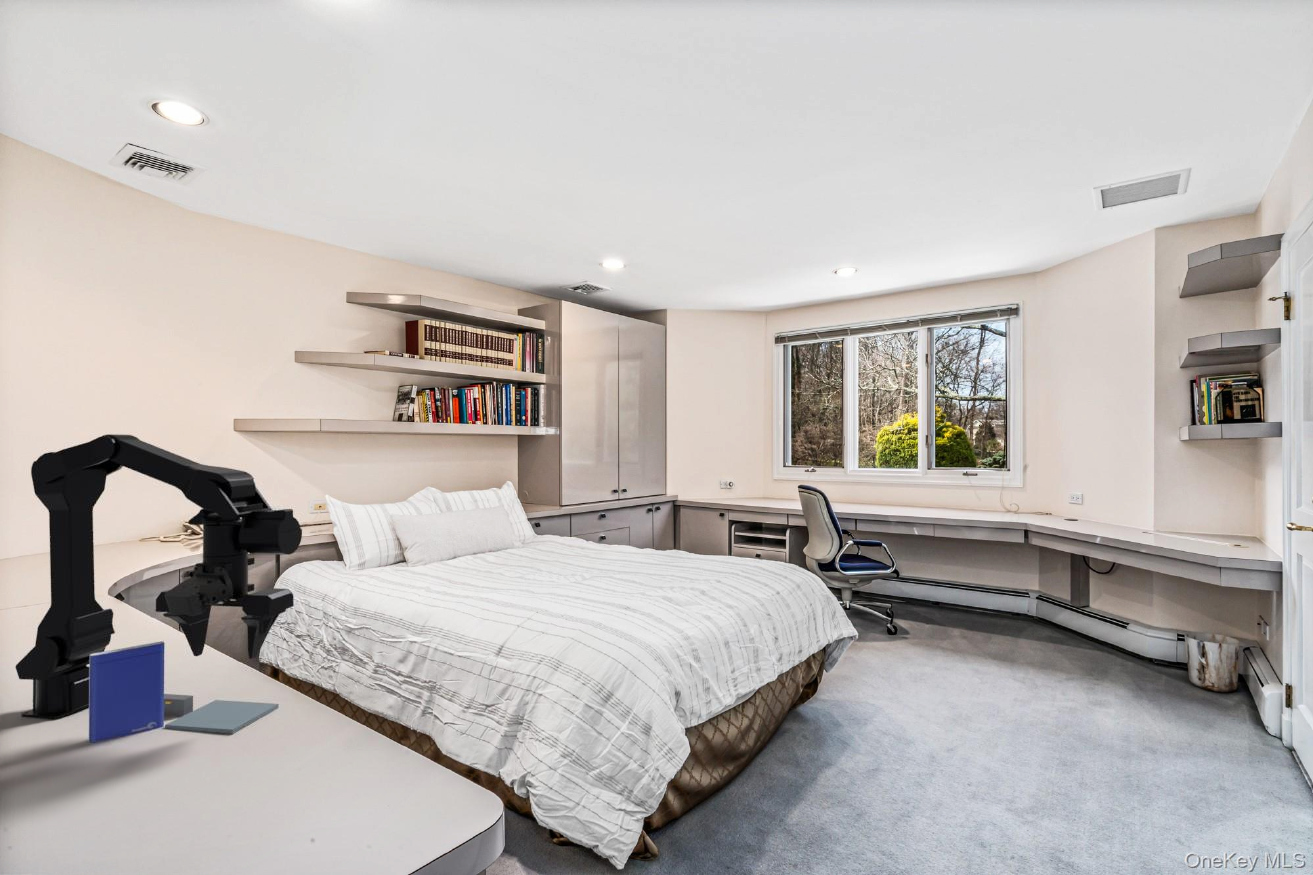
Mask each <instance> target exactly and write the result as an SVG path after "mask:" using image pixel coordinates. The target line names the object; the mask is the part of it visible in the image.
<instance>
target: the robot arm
mask: <svg viewBox="0 0 1313 875" xmlns="http://www.w3.org/2000/svg"><path fill="white" fill-rule="evenodd" d="M30 467H31V468H30V475H31V476H30V477H31V480H32V486H33V491H34V494H35V496H36V498H38V499H39V501H40V502H41V503H42V504H43V505H44V507H45V508H46V510H47V511H48V517H49V519H48V520H49V521H48V523H49V524H48V526H49V566H50V567H49V568H50V569H49V570H50V573H49V574H50V606H49V608H48V610H47V612H46V613H45V615H44V616H43V618H42V619H41V621H40V623H39V624H38V626H37V631H36V637H35V638H36V639H35V645H34V646H33V647H32V649H31V650H29V651H28V653H26V654H25V655H24V657H23V658H22V659H21V660H20V661H18V663H17V664H16V665H15V670H16V673H17V676H18V679H19V680H27V681H28V680H30V681H32V708H31V709H29V710H26V711H24V712H21V716H20V717H21V718H32V719H33V718H34V719H45V720H46V719H48V720H49V719H50V720H58V719H62V718H63V717H66V716H68V715H71V714H74V713H77V712H79V711H82V710H84V709H86V708H89V666H88V665H89V663H90V654H94V653H99V652H105V651H106V647H107V646H109V645H110V643H111V639H112V635H114V634H115V633H116V632H115V631H116V630H115V629H114V624H113V619H114V611H113V609H112V608H105V609H104V608H103V606H102V605H100V603H98V601H97V600H96V594H95V588H96V586H95V554H94V552H95V548H94V547H95V546H94V507H95V505H96V504H97V502H98V501H99V499H100V497H101V496H102V495H103V493H104V491H105V489H106V481H107V477H108V476H110V475H112V474H114V473H115V472H118V471H119V470H122V468H123V467H124V468H127V469H129V470H131V471H132V470H133V471H134V472H137V473H140V474H142V475H144V476H148V477H149V478H152V479H155V480H157V481H159V482H162V483H164V484H167V485H169V486H173V487H174V488H176V489H178V490H179V491H181V492H182V494H183V495H184V497H185V498H186V500H189V501H190V502H192V503H193V504H195V505H196V506H198V507H199V508H200V509H199V512H198V513H197V514H196V515H194V516H192V517H191V518H190V519H189V520H188V521H187V523H188V525H190V526H202V562H197V563H195V566H194V567H193V576H191V577H190V578H187V579H184V580H183V581H182V582H180V583H179V584H177V585H176V586H174V587H172V588H171V589H168V590H165V591H161V592H160V593H159V594H158V595H157V597H156V598H155V613H156V612H157V613H162V615H163V617H165V618H169V619H171V620H172V621H174V622H176V623H177V624H178V625H179V626H180V629H181V630H182V632H183V633H184V636H185V639H186V640H187V643H188V646H189V648H190V649H191V653H192V654H193V656H194V657H198V656H201V655H202V654H203V653H204V648H205V644H206V638H207V633H208V627H209V621H210V617H211V616H210V615H211V608H212V607H234V608H236V607H237V608H238V607H239V608H242V609H241V610H242V611H243V612H244V614H245V615H244V616H242V617H240V618H241V620H242V621H243V623H244V624H245V625H246V626H247V653H248V654H247V655H248V659H249V660H254V659H256V658H257V657H258V654H259V653H260V650H261V648H262V647H263V645H264V643H265V640H266V639H267V636H268V635H269V633H270V630H271V628H272V627H273V625H274V624H275V622H276V621H277V619H278V618H279V616H280V615H281V614H283V613H285V612H286V611H287V609H289V608H292V607H294V593H293V592H292V590H291V589H289V588H279V587H278V588H272V587H271V588H270V587H268V588H265V589H262V590H259V591H255V583H249V566H253V565H255V557H250V556H249V554H250V555H283V556H284V555H289V556H290V555H291V554H294V553H295V552H296V551H297V550H298V548H299V546H300V545H301V541H302V538H303V528H301V525H300V522H299V521H298V519H297V518H295V516H294V510H293V508H284V509H275V510H274V509H272V506H270V504H269V503H268V501H267V500H266V499H265V497H264V496H263V495H262V493H261V492H260V491H259V489H258V487H256V482H255V481H254V479H255V478H254V477H253V475H252V474H251V473H249V472H247V471H245V470H240V469H236V468H229V467H223V466H215V465H214V466H213V465H208V464H202V463H199V462H197V461H193V460H191V459H189V458H186V457H184V456H181V455H179V454H177V453H174V452H171V451H168V450H167V449H163V448H161V447H158V446H156V445H153V444H151V443H148V442H145V441H143V440H140V438H138V437H137V436H135V435H131V434H113V433H112V434H108V433H107V434H103V435H102V436H98V437H97V438H95V439H92V440H90V441H87V442H84V443H81V444H77V445H74V446H71V447H67V448H63V449H61V450H58V451H50V452H45V453H43V454H42V455H40V456H39V457H38V458H37V459H36V460H34V461H33V462H32V465H31V466H30ZM254 591H255V592H254ZM250 592H251V593H250Z"/></svg>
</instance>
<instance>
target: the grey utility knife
mask: <svg viewBox="0 0 1313 875" xmlns="http://www.w3.org/2000/svg"><path fill="white" fill-rule="evenodd" d="M192 711H194V695H191V694H190V695H189V694H188V695H187V694H174V693H173V694H172V693H164V716H165V715H166V716H167V715H168V716H177V717H178V716H179V717H182V716H184V715H186V714H188V713H190V712H192Z"/></svg>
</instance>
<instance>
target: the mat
mask: <svg viewBox="0 0 1313 875" xmlns="http://www.w3.org/2000/svg"><path fill="white" fill-rule="evenodd" d="M277 709H279V703H271V702H269V703H268V702H257V701H256V702H255V701H253V702H252V701H240V700H239V701H237V700H222V699H221V700H220V699H215V700H213V701H211V702H209V703H207V704H205V705H202V706H201V707H199V708H196V709H193V711H192V712H190V713H188V714H186V715H184V716H179V718H176V719H174V720H171V721H170V722H167V723H166V724H165V725H164V729H171V730H172V729H173V730H181V729H184V730H185V731H192V732H202V731H209V732H208V733H215V732H220V733H219V734H232V735H233V734H235V733H237V732H239V731H240V730H242V729H244V728H245V727H248V726H249V725H251V724H252V723H254V722H257V721H258V720H259V719H262V718H263V717H265V716H267V715H268V714H270V713H273V711H275V710H277ZM184 730H183V731H184Z"/></svg>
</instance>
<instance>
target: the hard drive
mask: <svg viewBox="0 0 1313 875" xmlns="http://www.w3.org/2000/svg"><path fill="white" fill-rule="evenodd" d="M165 645H166V644H165V642H164V640H162V641H157V642H150V643H145V644H139V645H135V646H134V645H133V646H128V647H121V648H118V649H117V648H116V649H111V650H104V652H99V653H94V654H90V663H89V664H88V665H89V666H88V667H89V707H88V743H96V742H98V743H99V742H102V741H106V740H110V739H115V738H119V737H124V736H129V735H133V734H137V733H142V732H147V731H151V730H156V729H160V728H163V727H165V725H164V724H165V721H164V720H165V714H164V694H165Z"/></svg>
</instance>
